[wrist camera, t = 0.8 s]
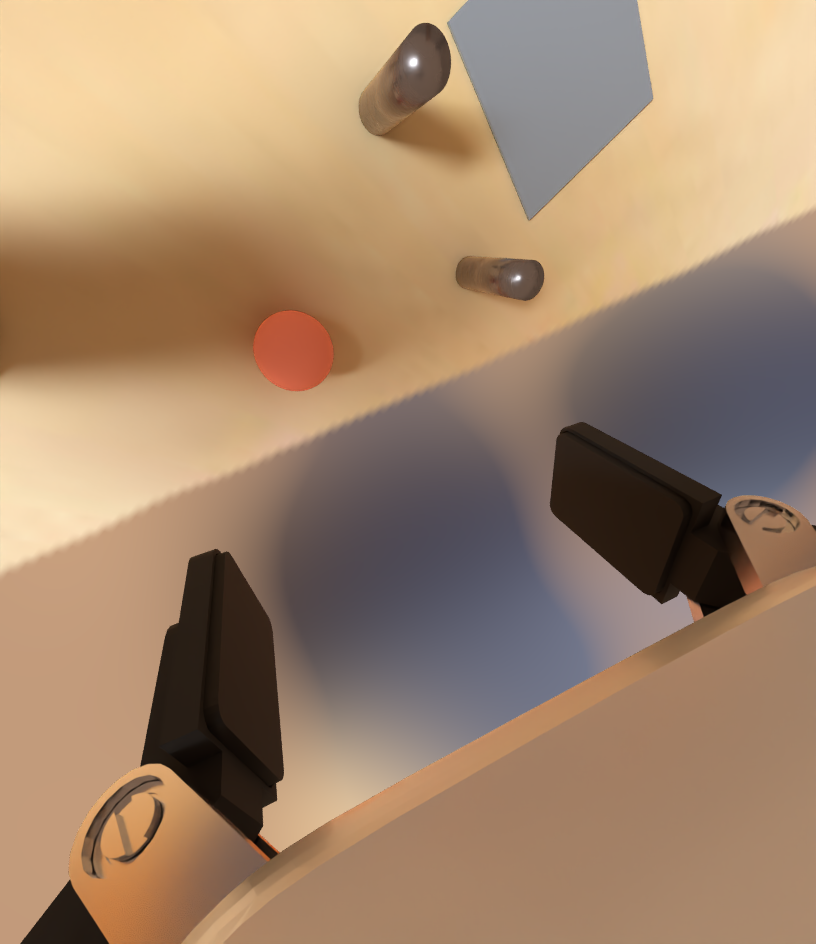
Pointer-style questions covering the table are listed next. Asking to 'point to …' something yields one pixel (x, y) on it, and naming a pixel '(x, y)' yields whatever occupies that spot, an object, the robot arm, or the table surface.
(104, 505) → the table surface
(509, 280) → the post
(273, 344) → the ball
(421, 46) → the post
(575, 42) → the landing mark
